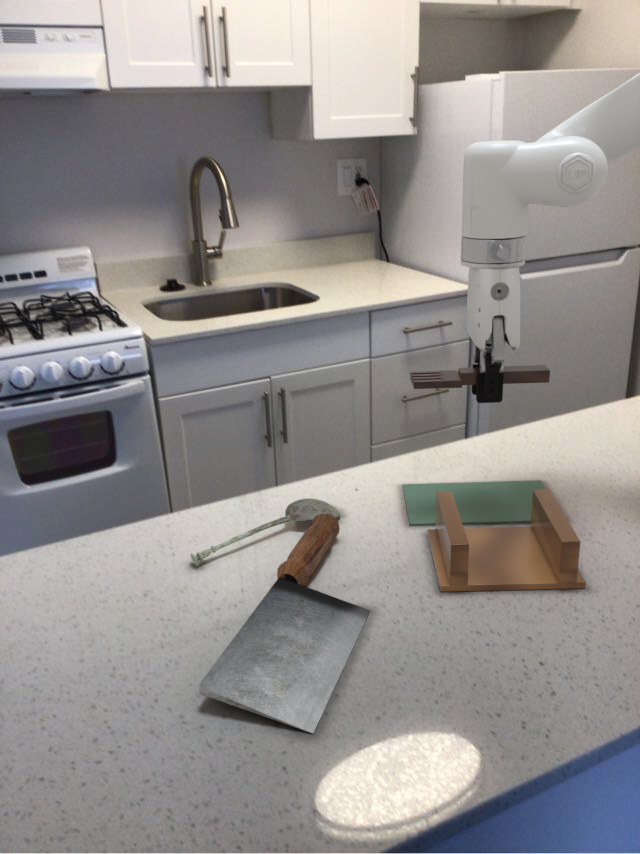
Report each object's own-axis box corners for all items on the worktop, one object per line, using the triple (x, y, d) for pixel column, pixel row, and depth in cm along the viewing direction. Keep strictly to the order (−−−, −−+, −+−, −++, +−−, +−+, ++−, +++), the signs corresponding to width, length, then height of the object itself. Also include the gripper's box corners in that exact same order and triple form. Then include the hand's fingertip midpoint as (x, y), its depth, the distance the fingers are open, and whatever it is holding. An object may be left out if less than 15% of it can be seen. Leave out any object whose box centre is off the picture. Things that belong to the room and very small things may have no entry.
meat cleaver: (315, 734, 65) (313, 696, 64) (196, 708, 68) (192, 672, 67) (400, 546, 95) (400, 517, 93) (314, 535, 98) (313, 507, 97)
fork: (542, 374, 98) (542, 362, 97) (551, 385, 93) (552, 372, 93) (410, 378, 98) (410, 366, 97) (413, 389, 94) (413, 377, 93)
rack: (553, 531, 96) (557, 488, 94) (585, 588, 84) (590, 541, 82) (427, 534, 97) (427, 492, 94) (440, 591, 84) (441, 544, 82)
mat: (540, 482, 110) (540, 480, 109) (563, 521, 98) (564, 519, 98) (402, 486, 110) (402, 484, 110) (409, 525, 99) (409, 523, 99)
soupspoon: (350, 523, 101) (321, 508, 107) (350, 500, 100) (320, 486, 106) (205, 576, 89) (180, 556, 94) (203, 550, 88) (177, 531, 93)
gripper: (542, 260, 82) (531, 419, 89) (509, 241, 97) (502, 378, 104) (473, 263, 82) (467, 421, 89) (451, 243, 97) (447, 380, 104)
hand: (486, 396), depth 96 cm, fingers closed on fork, 2 cm apart
